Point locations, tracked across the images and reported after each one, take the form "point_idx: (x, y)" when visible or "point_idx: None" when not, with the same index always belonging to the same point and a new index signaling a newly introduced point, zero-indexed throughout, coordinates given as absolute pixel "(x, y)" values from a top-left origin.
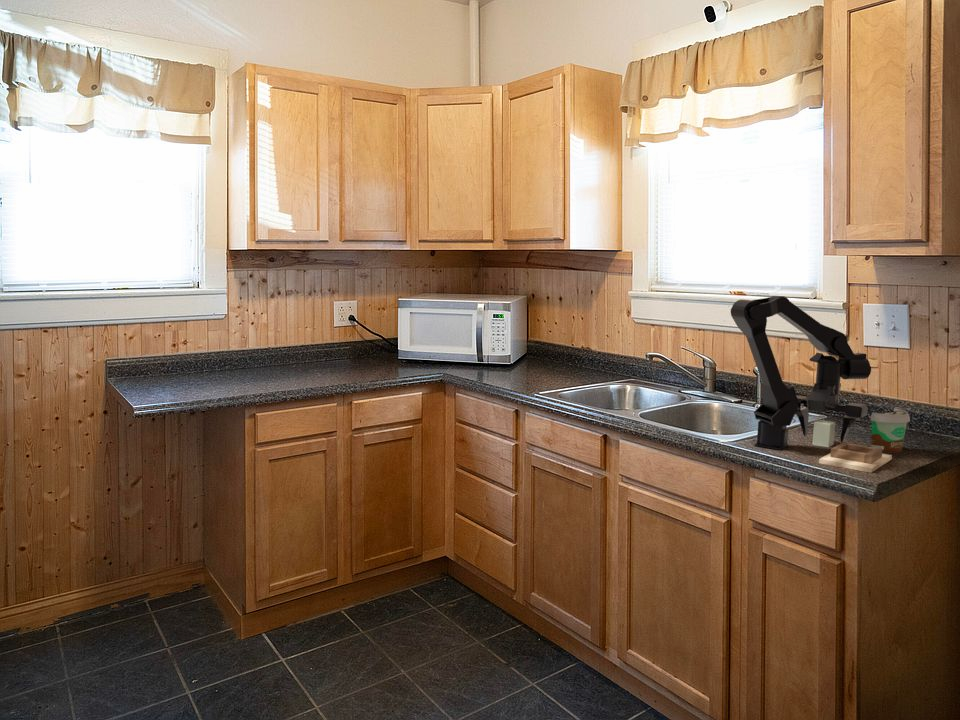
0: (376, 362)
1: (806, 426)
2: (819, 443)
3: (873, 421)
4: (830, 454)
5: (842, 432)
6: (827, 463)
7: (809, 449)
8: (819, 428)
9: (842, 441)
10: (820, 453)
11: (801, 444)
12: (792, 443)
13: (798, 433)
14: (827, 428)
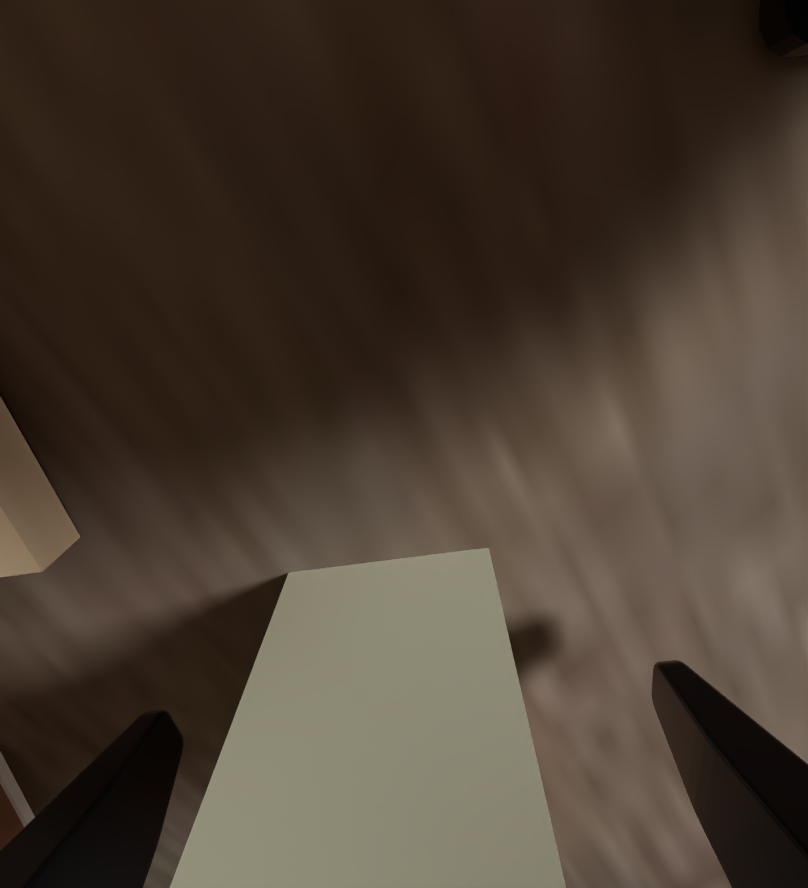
0: None
1: (754, 865)
2: (398, 580)
3: None
4: None
5: (21, 872)
6: None
7: (350, 212)
8: (408, 831)
9: (142, 722)
10: (49, 69)
11: (599, 437)
12: (734, 384)
13: None
14: (221, 882)
